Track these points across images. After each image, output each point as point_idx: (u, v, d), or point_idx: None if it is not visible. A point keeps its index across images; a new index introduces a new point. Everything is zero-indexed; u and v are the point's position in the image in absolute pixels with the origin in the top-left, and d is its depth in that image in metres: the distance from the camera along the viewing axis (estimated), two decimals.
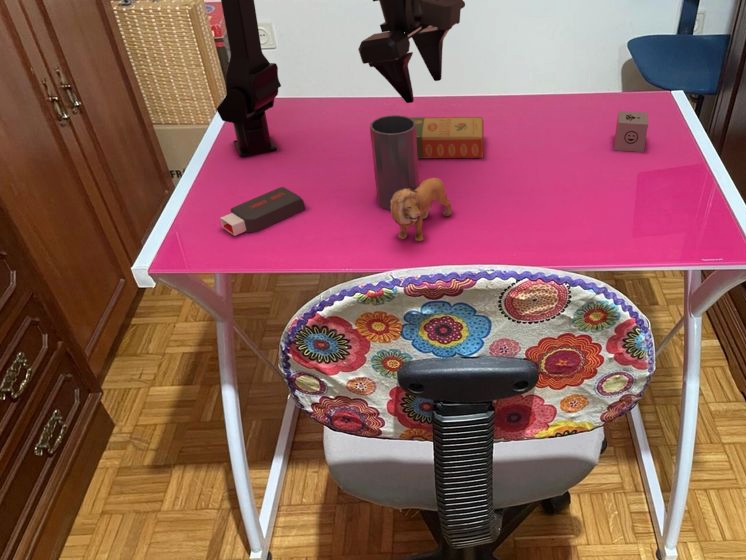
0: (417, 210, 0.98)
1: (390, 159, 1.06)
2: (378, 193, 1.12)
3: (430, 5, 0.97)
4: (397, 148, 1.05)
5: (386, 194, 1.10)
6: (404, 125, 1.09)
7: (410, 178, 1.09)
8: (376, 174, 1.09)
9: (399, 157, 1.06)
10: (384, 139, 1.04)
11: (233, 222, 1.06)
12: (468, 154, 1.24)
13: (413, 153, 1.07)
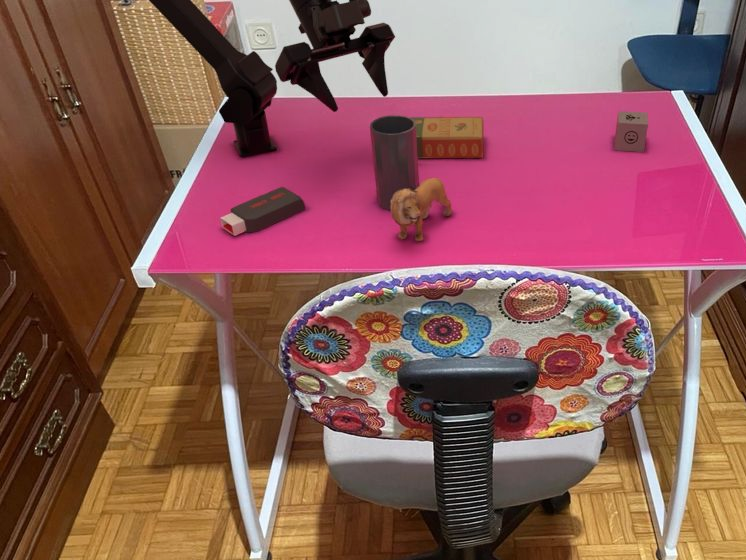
0: (417, 210, 0.98)
1: (390, 159, 1.06)
2: (378, 193, 1.12)
3: (324, 12, 1.03)
4: (397, 148, 1.05)
5: (386, 194, 1.10)
6: (404, 125, 1.09)
7: (410, 178, 1.09)
8: (376, 174, 1.09)
9: (399, 157, 1.06)
10: (384, 139, 1.04)
11: (233, 222, 1.06)
12: (468, 154, 1.24)
13: (413, 153, 1.07)
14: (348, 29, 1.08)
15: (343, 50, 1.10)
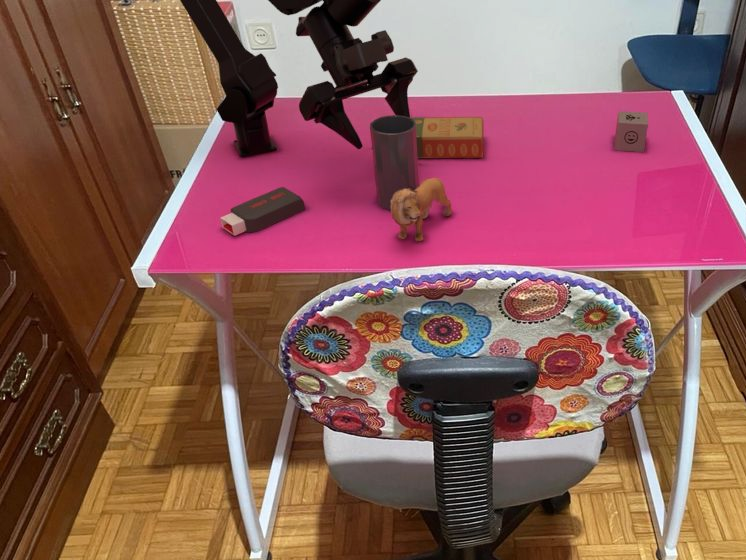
0: (417, 210, 0.98)
1: (390, 159, 1.06)
2: (378, 193, 1.12)
3: (347, 50, 1.02)
4: (397, 148, 1.05)
5: (386, 194, 1.10)
6: (404, 125, 1.09)
7: (410, 178, 1.09)
8: (376, 174, 1.09)
9: (399, 157, 1.06)
10: (384, 139, 1.04)
11: (233, 221, 1.06)
12: (468, 154, 1.24)
13: (413, 153, 1.07)
14: (371, 66, 1.07)
15: (366, 87, 1.09)
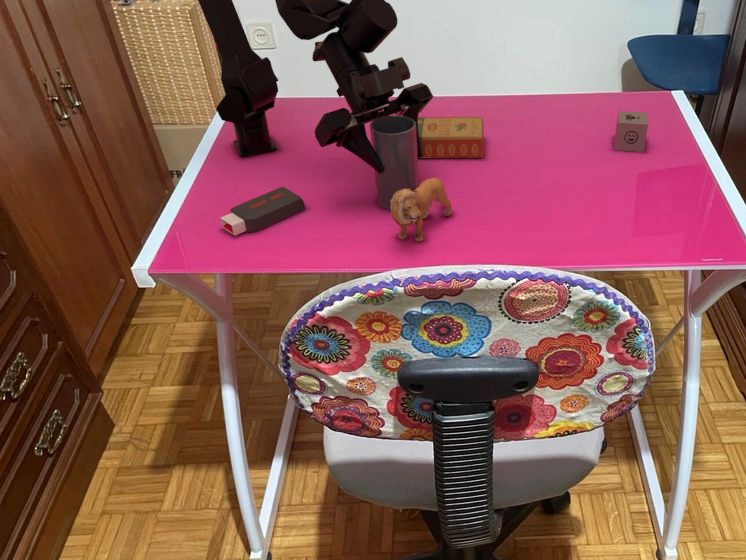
0: (417, 210, 0.98)
1: (390, 159, 1.06)
2: (378, 193, 1.12)
3: (364, 78, 1.02)
4: (397, 148, 1.05)
5: (386, 194, 1.10)
6: (404, 125, 1.09)
7: (410, 178, 1.09)
8: (376, 174, 1.09)
9: (399, 157, 1.06)
10: (384, 139, 1.04)
11: (233, 221, 1.06)
12: (468, 154, 1.24)
13: (413, 153, 1.07)
14: (387, 92, 1.07)
15: (376, 114, 1.08)
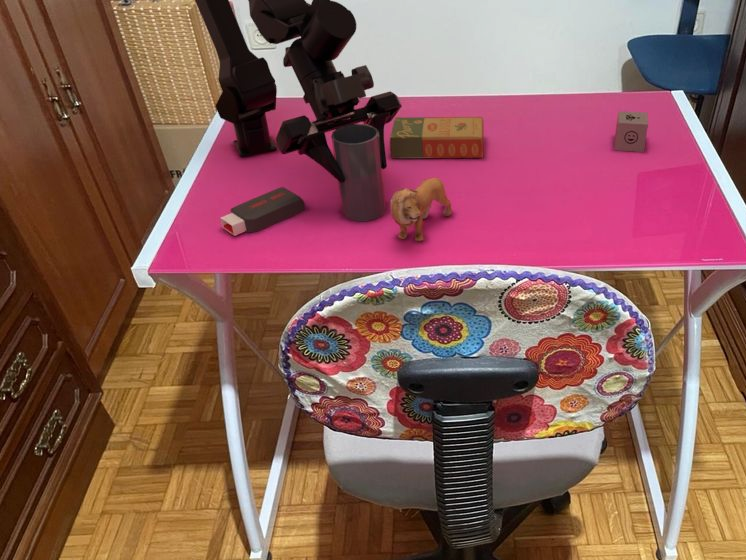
0: (417, 210, 0.98)
1: (350, 169, 1.04)
2: (341, 202, 1.09)
3: (324, 86, 1.00)
4: (357, 158, 1.03)
5: (348, 204, 1.08)
6: (369, 134, 1.06)
7: (372, 189, 1.07)
8: (339, 183, 1.07)
9: (360, 167, 1.04)
10: (344, 149, 1.02)
11: (233, 222, 1.06)
12: (468, 154, 1.24)
13: (375, 163, 1.05)
14: (351, 100, 1.05)
15: (341, 122, 1.06)
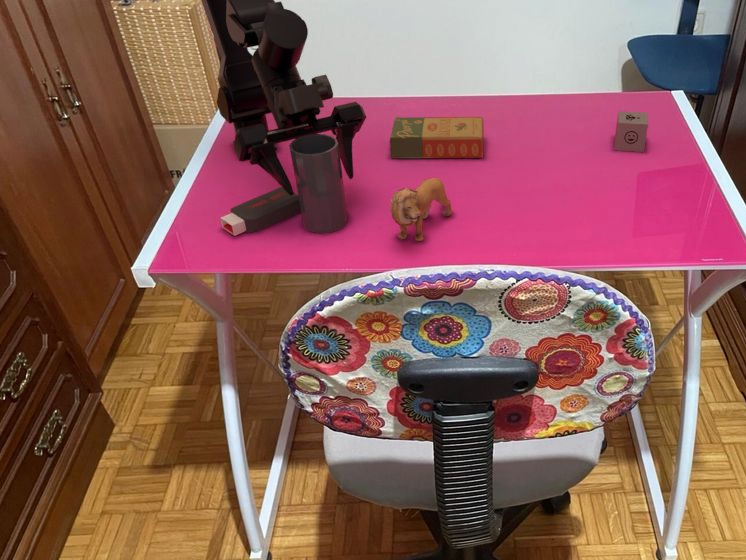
0: (417, 210, 0.98)
1: (307, 180, 1.01)
2: None
3: (281, 94, 0.98)
4: (313, 169, 1.00)
5: (307, 215, 1.06)
6: (330, 145, 1.04)
7: (330, 201, 1.04)
8: (298, 193, 1.05)
9: (316, 178, 1.01)
10: (299, 159, 1.00)
11: (233, 222, 1.06)
12: (468, 154, 1.24)
13: (333, 175, 1.02)
14: (312, 110, 1.02)
15: (308, 130, 1.04)
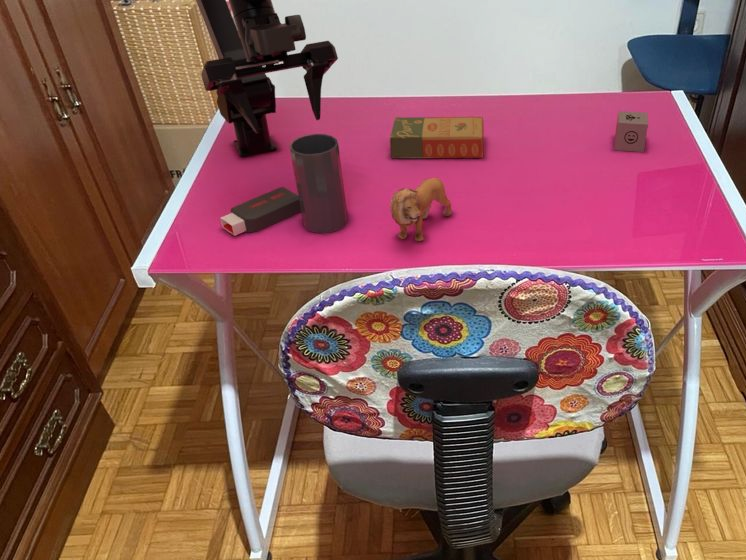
0: (417, 210, 0.98)
1: (307, 180, 1.01)
2: None
3: (252, 32, 0.97)
4: (313, 169, 1.00)
5: (307, 215, 1.06)
6: (330, 145, 1.04)
7: (330, 201, 1.04)
8: (298, 193, 1.05)
9: (316, 178, 1.01)
10: (299, 159, 1.00)
11: (233, 222, 1.06)
12: (468, 154, 1.24)
13: (333, 175, 1.02)
14: None
15: (278, 66, 1.04)
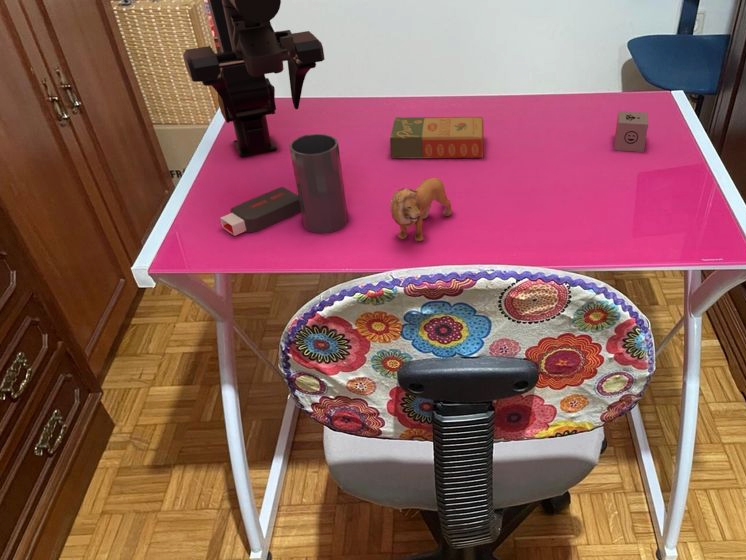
0: (417, 210, 0.98)
1: (307, 180, 1.01)
2: None
3: (242, 47, 0.95)
4: (313, 169, 1.00)
5: (307, 215, 1.06)
6: (330, 145, 1.04)
7: (330, 201, 1.04)
8: (298, 193, 1.05)
9: (316, 178, 1.01)
10: (299, 159, 1.00)
11: (233, 222, 1.06)
12: (468, 154, 1.24)
13: (333, 175, 1.02)
14: None
15: None
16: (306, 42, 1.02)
